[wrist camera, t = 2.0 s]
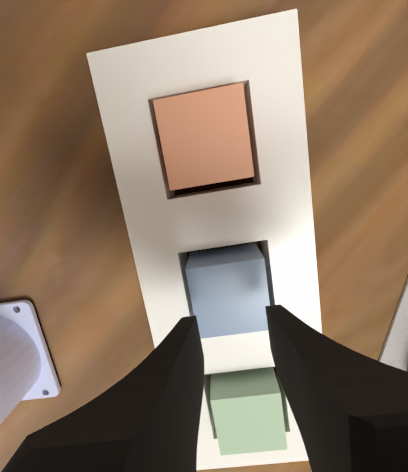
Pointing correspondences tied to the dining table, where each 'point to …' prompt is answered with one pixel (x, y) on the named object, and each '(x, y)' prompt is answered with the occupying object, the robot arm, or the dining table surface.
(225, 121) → the terracotta button
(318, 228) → the dining table surface
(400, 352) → the emergency button
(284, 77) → the button panel
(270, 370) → the sage-green button
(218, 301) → the slate-blue button
